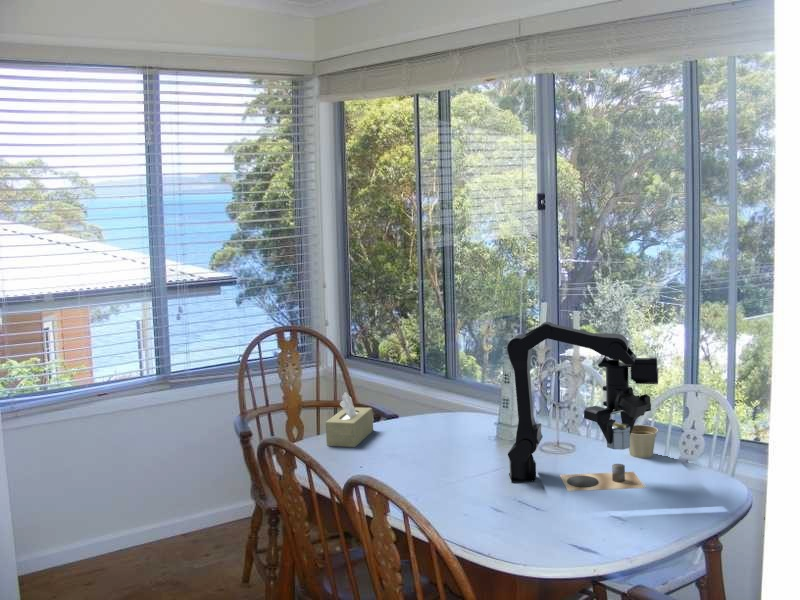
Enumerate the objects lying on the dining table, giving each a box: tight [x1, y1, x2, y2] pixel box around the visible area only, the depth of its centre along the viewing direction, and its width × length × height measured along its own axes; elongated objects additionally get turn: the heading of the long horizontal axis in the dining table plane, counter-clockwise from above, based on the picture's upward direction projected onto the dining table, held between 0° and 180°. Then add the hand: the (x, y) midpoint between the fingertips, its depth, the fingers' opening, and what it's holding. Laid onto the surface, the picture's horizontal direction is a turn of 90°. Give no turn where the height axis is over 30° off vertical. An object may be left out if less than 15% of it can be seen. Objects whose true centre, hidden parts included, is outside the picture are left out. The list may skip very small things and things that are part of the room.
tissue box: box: [325, 391, 374, 448], centre depth 274 cm, size 19×10×16 cm, turn 163°
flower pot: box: [628, 424, 659, 459], centre depth 240 cm, size 9×9×9 cm
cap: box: [606, 421, 630, 451], centre depth 219 cm, size 6×6×6 cm
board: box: [559, 463, 646, 492], centre depth 220 cm, size 20×12×5 cm, turn 89°
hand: (618, 441), depth 219 cm, fingers closed on cap, 6 cm apart
